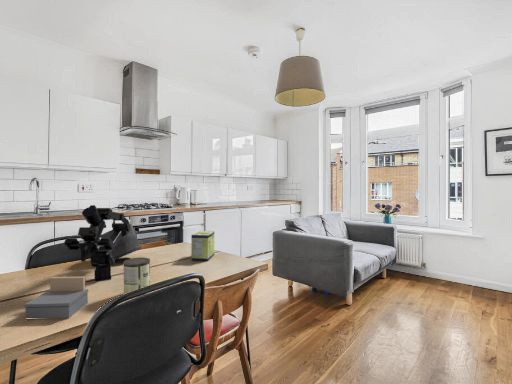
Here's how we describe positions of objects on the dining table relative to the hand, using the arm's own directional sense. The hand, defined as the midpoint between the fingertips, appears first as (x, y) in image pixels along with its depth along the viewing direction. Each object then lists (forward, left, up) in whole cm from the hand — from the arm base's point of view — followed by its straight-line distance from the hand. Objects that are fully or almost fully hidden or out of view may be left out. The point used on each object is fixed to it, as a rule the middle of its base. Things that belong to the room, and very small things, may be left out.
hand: (82, 261), depth 115 cm
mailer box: (+7, +14, -14) cm, 21 cm away
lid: (+7, +14, -9) cm, 18 cm away
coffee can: (-20, +11, -14) cm, 27 cm away
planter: (-20, -45, -10) cm, 50 cm away
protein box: (-63, -31, -14) cm, 71 cm away
